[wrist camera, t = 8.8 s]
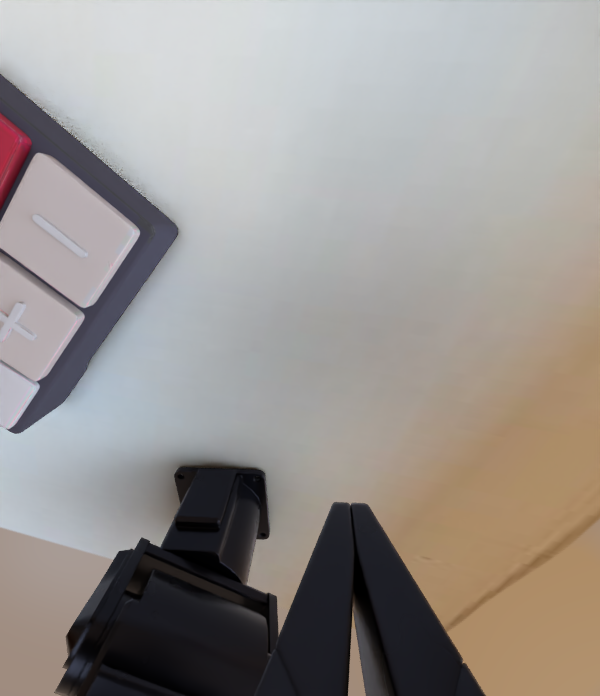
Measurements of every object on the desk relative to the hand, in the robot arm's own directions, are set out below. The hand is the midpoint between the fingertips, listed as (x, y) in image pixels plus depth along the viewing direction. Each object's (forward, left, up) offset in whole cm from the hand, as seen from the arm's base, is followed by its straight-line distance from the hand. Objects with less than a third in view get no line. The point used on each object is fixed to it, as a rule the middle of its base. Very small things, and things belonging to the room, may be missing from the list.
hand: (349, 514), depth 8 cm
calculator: (+4, +17, -12) cm, 22 cm away
